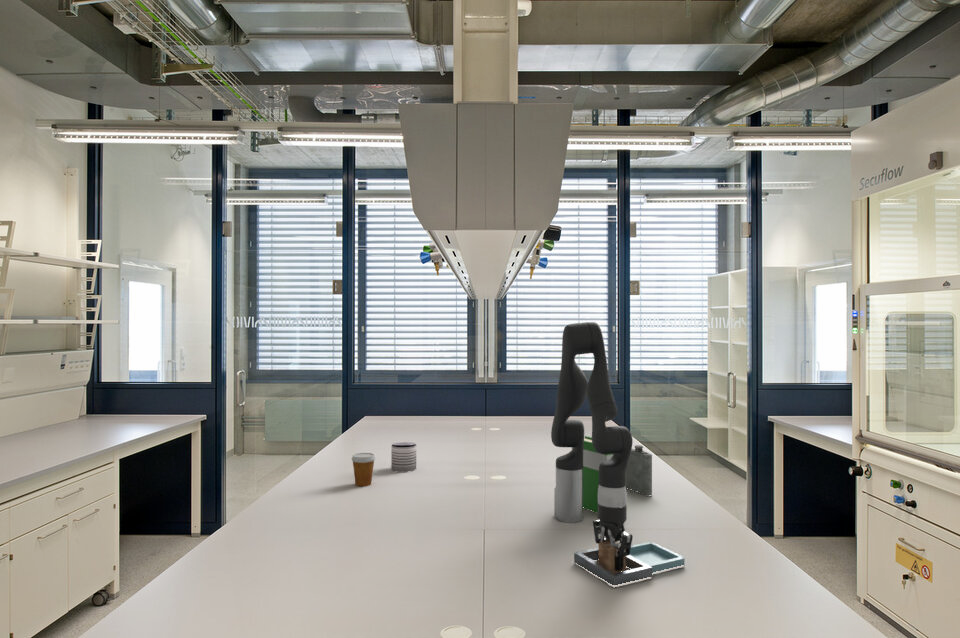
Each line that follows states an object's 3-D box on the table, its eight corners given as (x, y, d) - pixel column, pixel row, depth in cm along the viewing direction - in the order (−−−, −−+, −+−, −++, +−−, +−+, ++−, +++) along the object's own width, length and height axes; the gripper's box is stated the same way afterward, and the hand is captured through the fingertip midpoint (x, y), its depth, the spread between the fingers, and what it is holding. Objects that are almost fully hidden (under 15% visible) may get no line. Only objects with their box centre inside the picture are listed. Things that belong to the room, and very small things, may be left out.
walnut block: (598, 569, 157) (598, 543, 157) (613, 565, 159) (613, 540, 159) (610, 576, 152) (610, 549, 152) (625, 573, 154) (625, 546, 154)
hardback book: (571, 503, 214) (571, 438, 214) (586, 500, 218) (586, 436, 218) (606, 517, 199) (606, 446, 199) (622, 513, 203) (622, 444, 203)
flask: (629, 486, 237) (629, 442, 237) (655, 495, 224) (655, 448, 225) (622, 487, 235) (622, 442, 235) (647, 496, 223) (647, 449, 223)
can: (386, 471, 260) (386, 444, 260) (397, 465, 271) (397, 439, 271) (410, 473, 257) (410, 445, 257) (420, 467, 268) (420, 441, 268)
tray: (614, 557, 164) (614, 548, 164) (651, 549, 170) (651, 541, 170) (647, 576, 152) (647, 566, 152) (686, 567, 158) (686, 557, 158)
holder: (574, 563, 160) (574, 552, 160) (610, 555, 166) (610, 545, 166) (613, 588, 145) (613, 576, 145) (652, 579, 151) (652, 567, 151)
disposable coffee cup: (372, 487, 234) (372, 457, 234) (348, 487, 234) (349, 457, 234) (377, 481, 243) (377, 452, 243) (354, 481, 243) (354, 452, 244)
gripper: (584, 496, 160) (584, 558, 160) (618, 511, 147) (618, 579, 147) (606, 493, 164) (606, 554, 163) (641, 507, 151) (641, 573, 151)
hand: (612, 565), depth 155 cm, fingers closed on walnut block, 5 cm apart
